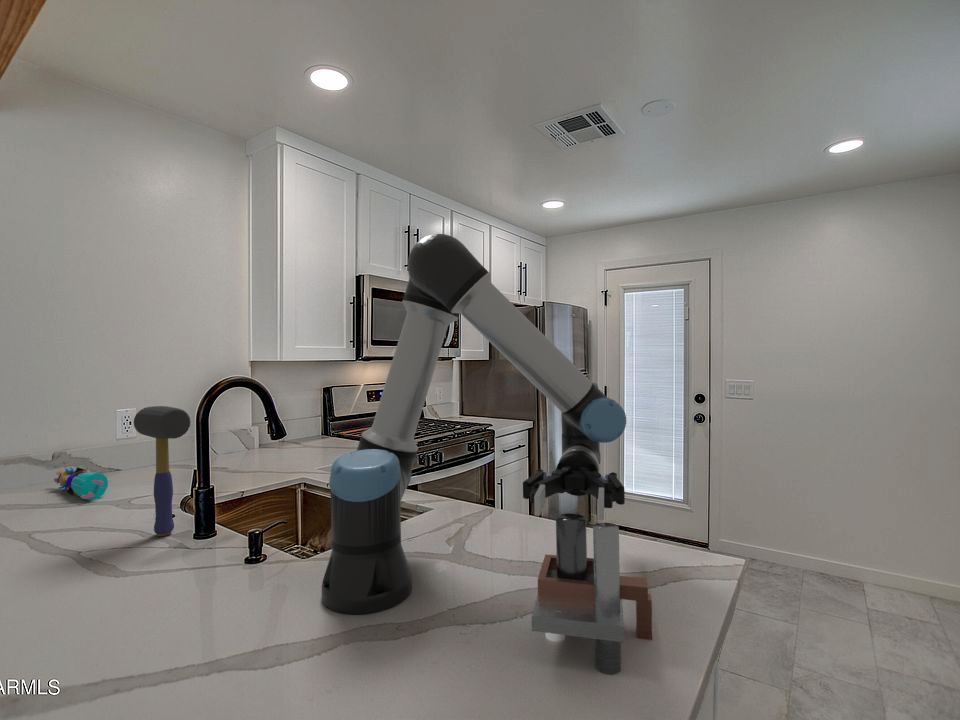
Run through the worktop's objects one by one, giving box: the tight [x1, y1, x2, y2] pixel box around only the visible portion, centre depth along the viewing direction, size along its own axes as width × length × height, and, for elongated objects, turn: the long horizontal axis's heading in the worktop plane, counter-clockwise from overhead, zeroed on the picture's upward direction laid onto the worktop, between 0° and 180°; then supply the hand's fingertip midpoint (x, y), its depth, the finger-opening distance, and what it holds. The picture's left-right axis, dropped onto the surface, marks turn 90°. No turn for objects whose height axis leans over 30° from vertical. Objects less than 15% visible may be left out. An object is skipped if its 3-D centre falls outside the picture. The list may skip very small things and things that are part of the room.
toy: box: [53, 466, 109, 502], centre depth 151 cm, size 8×8×30 cm
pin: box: [555, 513, 588, 581], centre depth 72 cm, size 4×4×16 cm
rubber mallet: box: [133, 405, 191, 537], centre depth 113 cm, size 12×8×30 cm, turn 60°
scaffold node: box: [531, 522, 653, 675], centre depth 68 cm, size 16×15×18 cm
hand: (568, 507), depth 67 cm, fingers open, 8 cm apart
